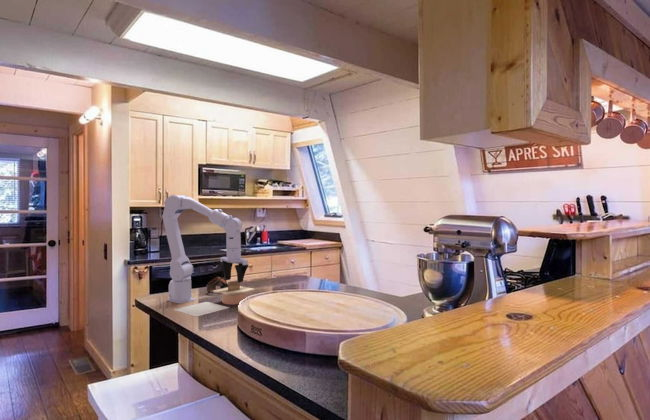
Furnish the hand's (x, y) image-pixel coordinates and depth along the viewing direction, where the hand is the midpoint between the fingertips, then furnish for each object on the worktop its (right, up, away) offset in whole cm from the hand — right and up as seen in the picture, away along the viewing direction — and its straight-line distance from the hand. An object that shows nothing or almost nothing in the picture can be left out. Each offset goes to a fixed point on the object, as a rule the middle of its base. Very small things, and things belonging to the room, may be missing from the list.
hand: (234, 280), depth 173 cm
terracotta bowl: (0, -9, 0) cm, 9 cm away
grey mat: (-10, -9, -11) cm, 17 cm away
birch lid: (0, -4, 0) cm, 4 cm away
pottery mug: (-10, -9, +17) cm, 22 cm away
